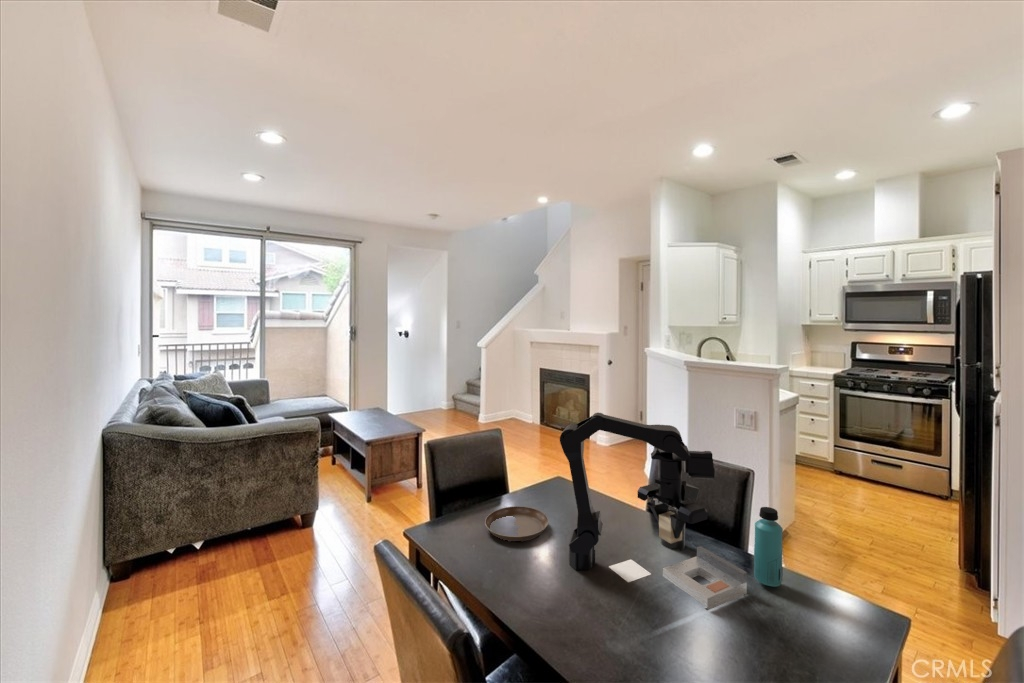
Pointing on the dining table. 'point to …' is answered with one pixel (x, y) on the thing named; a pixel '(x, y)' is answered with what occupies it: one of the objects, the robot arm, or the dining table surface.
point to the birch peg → (667, 528)
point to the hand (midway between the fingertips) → (670, 534)
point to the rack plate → (708, 578)
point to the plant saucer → (520, 522)
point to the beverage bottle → (768, 548)
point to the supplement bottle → (679, 544)
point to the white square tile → (629, 570)
